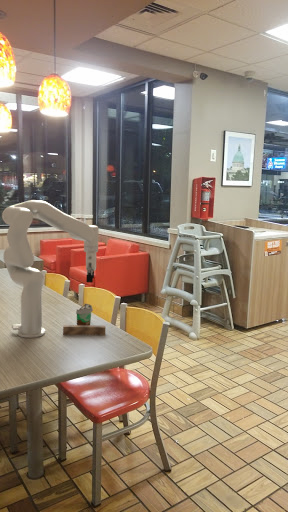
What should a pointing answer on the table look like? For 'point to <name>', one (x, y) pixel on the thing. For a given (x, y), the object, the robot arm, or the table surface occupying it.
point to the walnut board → (83, 330)
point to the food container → (84, 315)
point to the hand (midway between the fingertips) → (90, 280)
